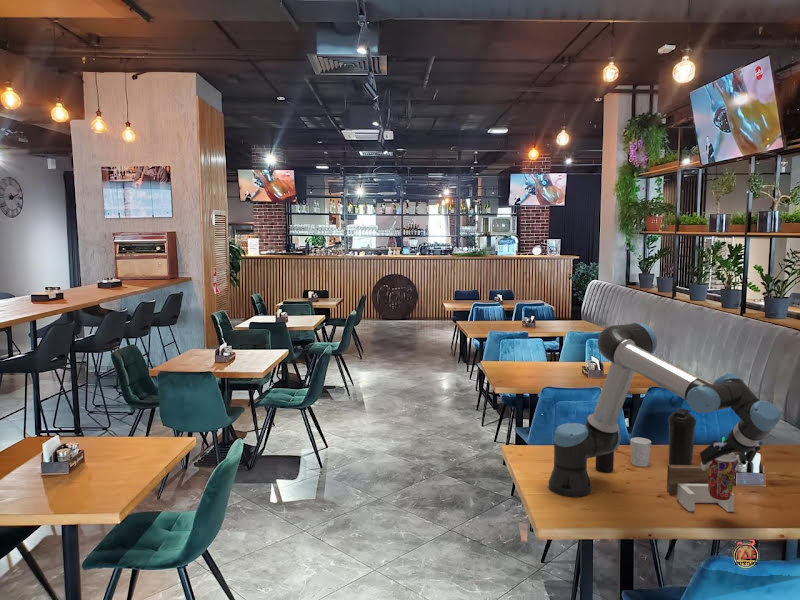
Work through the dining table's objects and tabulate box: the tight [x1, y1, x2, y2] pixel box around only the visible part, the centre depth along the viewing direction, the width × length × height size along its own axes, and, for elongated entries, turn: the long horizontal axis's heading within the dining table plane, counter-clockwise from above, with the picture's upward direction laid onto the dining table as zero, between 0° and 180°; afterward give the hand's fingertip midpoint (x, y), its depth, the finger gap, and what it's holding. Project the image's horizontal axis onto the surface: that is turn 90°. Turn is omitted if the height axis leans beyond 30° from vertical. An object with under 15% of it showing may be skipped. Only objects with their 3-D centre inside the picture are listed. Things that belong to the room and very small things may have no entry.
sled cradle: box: [676, 484, 735, 513], centre depth 209 cm, size 9×15×6 cm, turn 88°
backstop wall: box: [666, 464, 708, 496], centre depth 220 cm, size 3×16×10 cm, turn 88°
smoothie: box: [708, 436, 737, 500], centre depth 198 cm, size 8×8×20 cm
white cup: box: [630, 437, 652, 468], centre depth 249 cm, size 8×8×10 cm
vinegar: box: [595, 451, 615, 474], centre depth 242 cm, size 7×7×20 cm
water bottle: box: [667, 408, 697, 465], centre depth 246 cm, size 10×10×23 cm
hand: (716, 467), depth 201 cm, fingers closed on smoothie, 8 cm apart
